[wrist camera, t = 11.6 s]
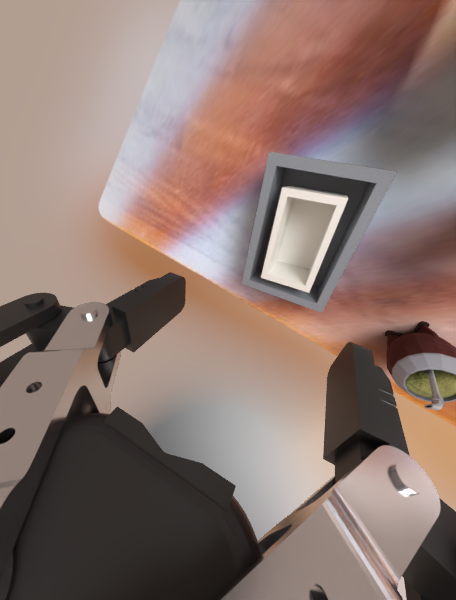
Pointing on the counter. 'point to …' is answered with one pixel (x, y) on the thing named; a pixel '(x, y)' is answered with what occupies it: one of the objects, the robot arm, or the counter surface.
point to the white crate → (301, 235)
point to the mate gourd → (423, 365)
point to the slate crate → (352, 225)
